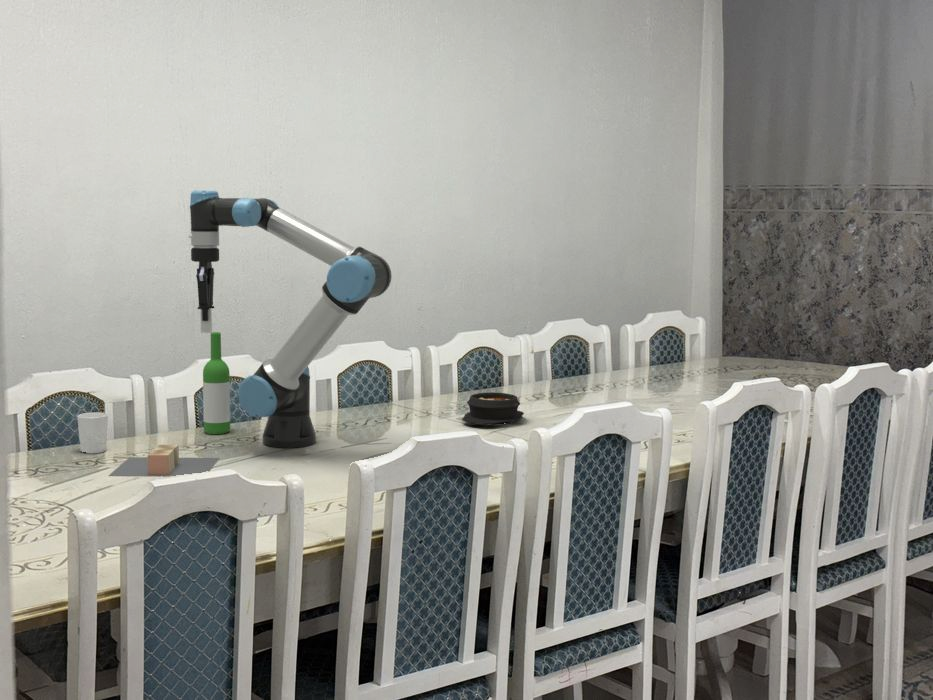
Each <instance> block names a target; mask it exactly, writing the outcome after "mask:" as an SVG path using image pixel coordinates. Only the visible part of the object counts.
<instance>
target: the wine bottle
mask: <svg viewBox="0 0 933 700" xmlns="http://www.w3.org/2000/svg"><path fill="white" fill-rule="evenodd" d="M221 336H222V334H221V332H217V331H212V332H211V333H210V360H208V361H207V362H206V364H205V365H204V367H203V369H202V397H203V398H202V401H203V402H202V403H203V413H202V414H203V430H204V433H206V434H208V435H224V433H225V434H227V432H228V433H229V432H230V431H231V389H230V388H231V386H230V385H231V384H230V382H231V380H230V368H229V366H228V365H227V363H226V362H225V360H223V359H222V338H221Z"/></svg>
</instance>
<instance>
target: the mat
mask: <svg viewBox="0 0 933 700" xmlns="http://www.w3.org/2000/svg"><path fill="white" fill-rule="evenodd" d="M220 459H221V457H179V464H178V465H177V466H176V467H175V468H174V469H173V470H172V471H171V472H170V474H169V475H148V456H147V457H143V456H140V457H139V456H137V457H134V456H132V457H131V456H129V457H128V458H127V459H125V460H124V461H123V462H122V463H121V464H120V465H119V466H118V467H116V468H115V469H114V470H113V471H112V472H111V473H110V474H109V475H108V477H161V476H162V477H166V478H167V477H169V478H170V476H176V475H184V474H192V473H202V472H206V471H211V470H213V468H214V467H215V465H216V464H217V462H218V461H219V460H220Z"/></svg>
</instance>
